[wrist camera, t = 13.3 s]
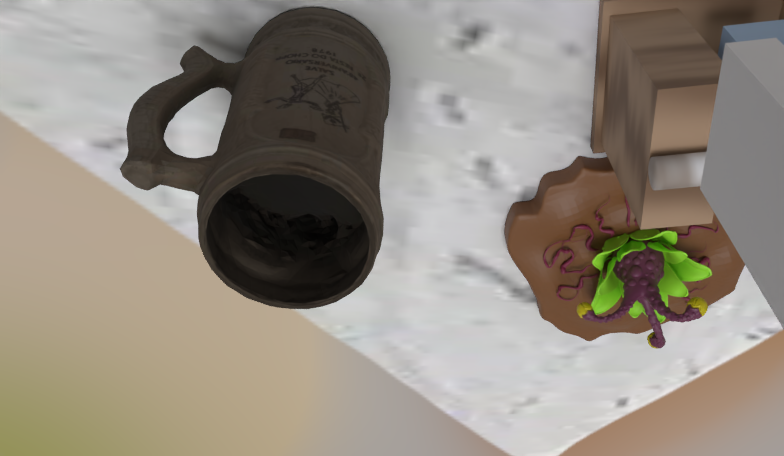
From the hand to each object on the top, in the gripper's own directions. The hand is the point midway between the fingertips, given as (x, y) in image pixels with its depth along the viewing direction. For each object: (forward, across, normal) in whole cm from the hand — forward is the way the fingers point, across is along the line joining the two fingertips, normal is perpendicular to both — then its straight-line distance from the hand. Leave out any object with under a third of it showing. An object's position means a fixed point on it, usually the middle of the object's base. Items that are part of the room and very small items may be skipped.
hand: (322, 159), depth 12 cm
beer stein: (+39, -8, -16) cm, 43 cm away
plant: (+39, +18, -35) cm, 55 cm away
